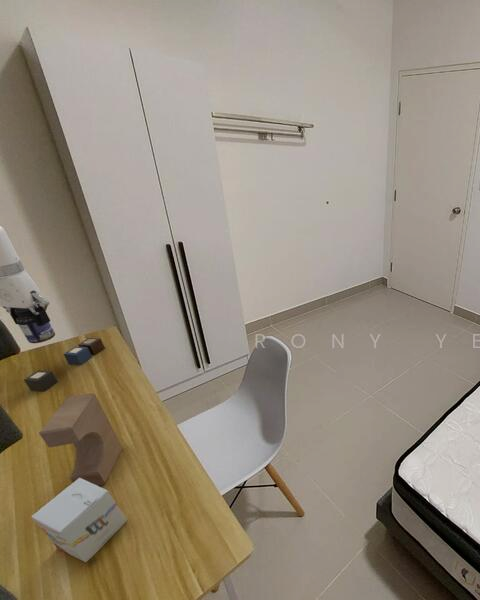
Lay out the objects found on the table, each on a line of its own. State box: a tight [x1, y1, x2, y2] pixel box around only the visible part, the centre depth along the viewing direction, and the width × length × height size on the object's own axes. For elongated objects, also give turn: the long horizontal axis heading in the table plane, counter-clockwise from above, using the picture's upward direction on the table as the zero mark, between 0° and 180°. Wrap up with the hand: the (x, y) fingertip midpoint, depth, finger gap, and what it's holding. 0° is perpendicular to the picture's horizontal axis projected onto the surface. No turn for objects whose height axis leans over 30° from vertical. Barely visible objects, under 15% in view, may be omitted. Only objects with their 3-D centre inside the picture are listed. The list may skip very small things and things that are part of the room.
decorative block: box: [38, 392, 123, 487], centre depth 78 cm, size 11×6×20 cm, turn 16°
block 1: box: [23, 369, 59, 392], centre depth 104 cm, size 4×4×5 cm
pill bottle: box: [15, 305, 56, 344], centre depth 100 cm, size 6×6×11 cm
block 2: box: [63, 346, 93, 366], centre depth 116 cm, size 4×4×5 cm
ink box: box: [30, 478, 128, 563], centre depth 67 cm, size 9×9×12 cm
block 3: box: [77, 337, 106, 356], centre depth 121 cm, size 4×4×5 cm
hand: (33, 322), depth 100 cm, fingers closed on pill bottle, 6 cm apart
